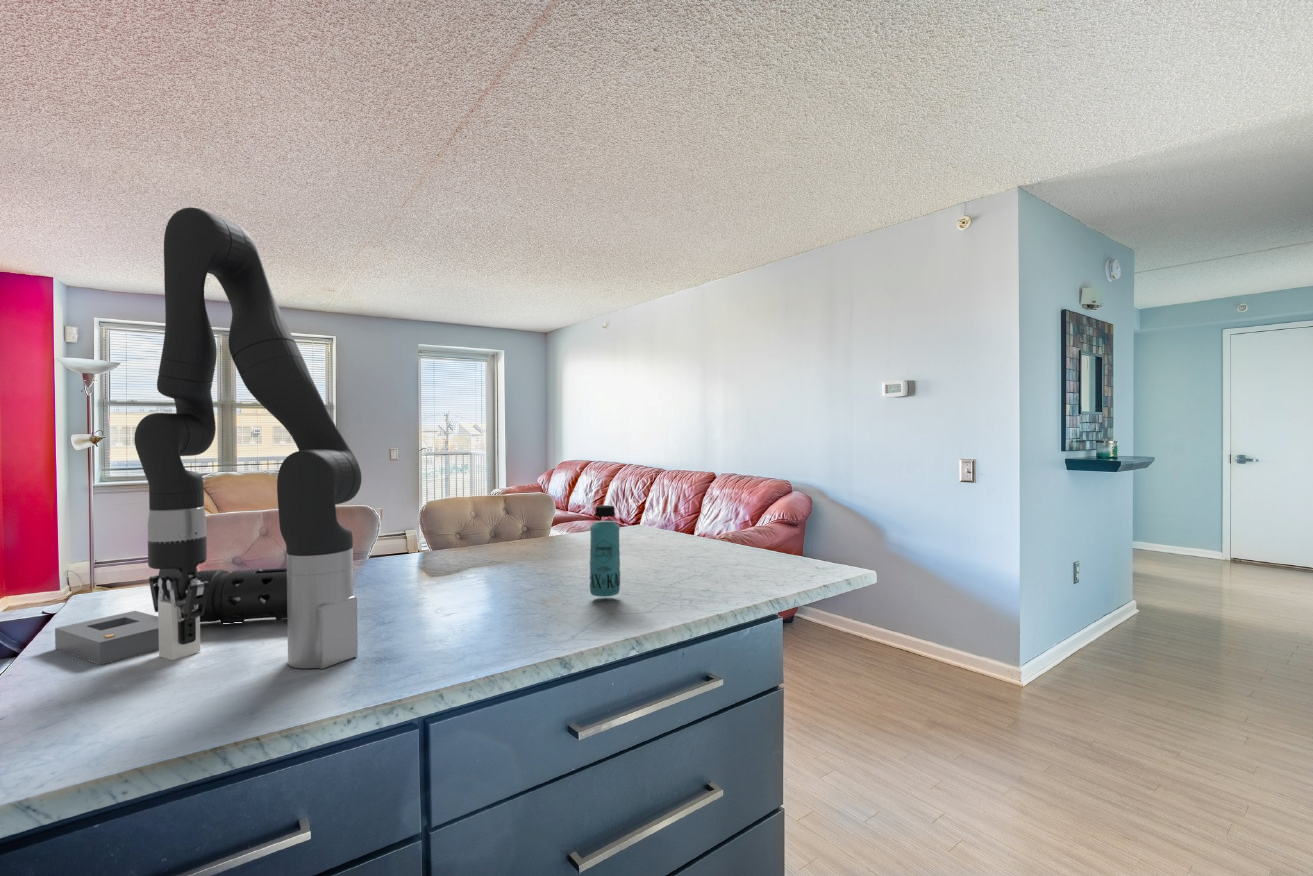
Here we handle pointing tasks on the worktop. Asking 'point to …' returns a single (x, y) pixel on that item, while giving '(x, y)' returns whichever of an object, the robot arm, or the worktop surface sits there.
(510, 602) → the worktop surface
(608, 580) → the beverage bottle
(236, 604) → the muzzle brake
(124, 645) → the outlet block
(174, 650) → the block
